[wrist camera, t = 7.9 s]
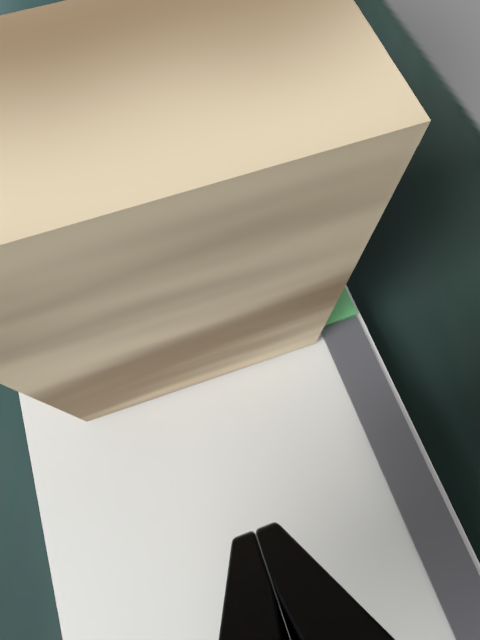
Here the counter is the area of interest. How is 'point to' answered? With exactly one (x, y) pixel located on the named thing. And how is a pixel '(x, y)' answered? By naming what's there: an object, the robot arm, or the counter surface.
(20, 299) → the block
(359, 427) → the plate
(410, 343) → the counter surface
